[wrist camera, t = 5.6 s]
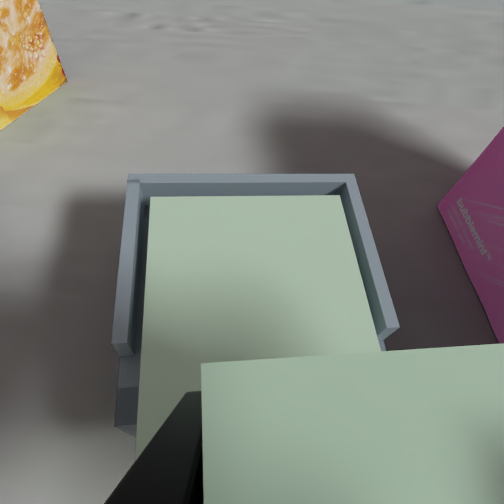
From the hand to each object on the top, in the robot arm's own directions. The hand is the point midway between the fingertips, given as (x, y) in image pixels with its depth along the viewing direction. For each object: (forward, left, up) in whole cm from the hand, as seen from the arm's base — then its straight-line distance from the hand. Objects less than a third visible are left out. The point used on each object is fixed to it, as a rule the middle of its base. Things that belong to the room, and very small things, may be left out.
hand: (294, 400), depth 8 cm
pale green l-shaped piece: (+2, +2, -5) cm, 6 cm away
